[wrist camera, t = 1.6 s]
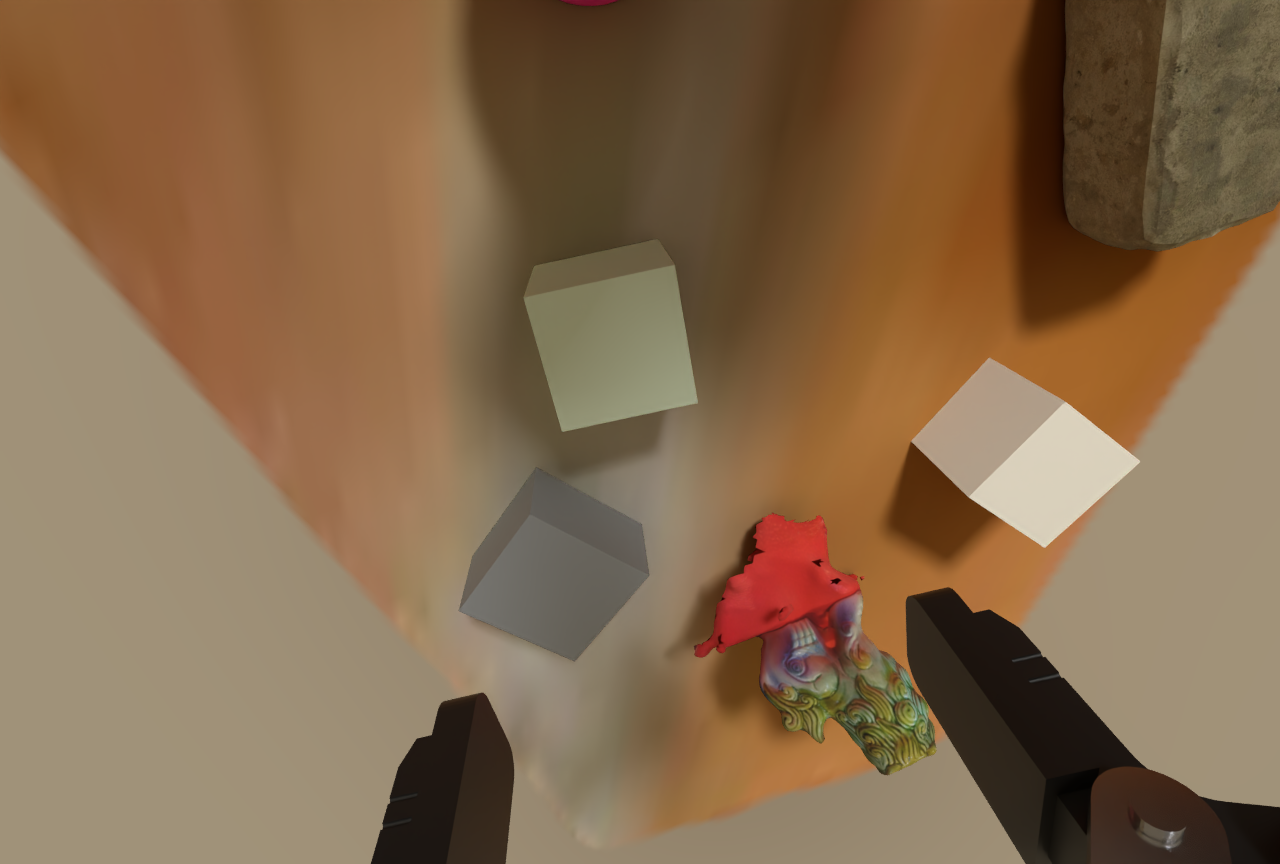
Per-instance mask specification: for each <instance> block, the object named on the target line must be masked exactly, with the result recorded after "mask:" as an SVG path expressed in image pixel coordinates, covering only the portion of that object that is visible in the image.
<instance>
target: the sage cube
mask: <svg viewBox="0 0 1280 864" xmlns="http://www.w3.org/2000/svg"><path fill="white" fill-rule="evenodd" d="M523 298H524V302H525V305H526V309H527V312H528V316H529V319H530V323H531V326H532V330H533V333H534V336H535V340H536V343H537V347H538V350H539V354H540V357H541V361H542V364H543V368H544V371H545V375H546V378H547V382H548V385H549V389H550V392H551V396H552V399H553V403H554V406H555V410H556V413H557V416H558V420H559V423H560V427H561V430H562V432H565V431H569V430H574V429H579V428H583V427H588V426H593V425H597V424H602V423H607V422H611V421H616V420H621V419H625V418H630V417H635V416H640V415H644V414H649V413H654V412H658V411H663V410H668V409H672V408H677V407H682V406H686V405H691V404H696V403H698V401H697V395H696V389H695V383H694V377H693V371H692V365H691V359H690V353H689V347H688V341H687V335H686V329H685V323H684V317H683V311H682V305H681V299H680V293H679V287H678V281H677V275H676V269H675V264H674V263H673V261H672V260H671V258H670V257H669V255H668V254H667V252H666V250H665V249H664V247H663V246H662V244H661V243H660V241H659V240H658V239H655V240H650V241H646V242H641V243H637V244H632V245H627V246H623V247H618V248H614V249H609V250H604V251H600V252H595V253H591V254H586V255H581V256H577V257H572V258H568V259H563V260H558V261H554V262H549V263H545V264H540V265H535V266H534V267H533V270H532V273H531V276H530V279H529V282H528V285H527V288H526V291H525V294H524V297H523Z"/></svg>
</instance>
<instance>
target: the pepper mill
mask: <svg viewBox="0 0 1280 864" xmlns="http://www.w3.org/2000/svg"><path fill="white" fill-rule="evenodd" d="M560 1H563V2H566V3H569V4H575V5H581V6H597V5H605V4H609V3H612V2H615V1H618V0H560Z"/></svg>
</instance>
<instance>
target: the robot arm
mask: <svg viewBox="0 0 1280 864" xmlns="http://www.w3.org/2000/svg"><path fill="white" fill-rule="evenodd" d="M906 632H907V657H908V662H909V666H910V669H911V672H912V675H913V678H914V680H915V682H916V684H917V686H918V688H919V690H920V692H921V693H922V695H923V697H924V698H925V700H926V701H927V703H928V705H929V706H930V708H931V710H932V711H933V713H934V715H935V716H936V718H937V719H938V721H939V723H940V724H941V726H942V728H943V729H944V731H945V733H946V734H947V736H948V737H949V739H950V741H951V742H952V744H953V746H954V747H955V749H956V751H957V752H958V754H959V755H960V757H961V759H962V760H963V762H964V764H965V765H966V767H967V768H968V770H969V772H970V773H971V775H972V777H973V778H974V780H975V782H976V783H977V785H978V787H979V788H980V790H981V791H982V793H983V795H984V796H985V798H986V800H987V801H988V803H989V805H990V806H991V808H992V809H993V811H994V813H995V814H996V816H997V818H998V819H999V821H1000V823H1001V824H1002V826H1003V827H1004V829H1005V831H1006V832H1007V834H1008V836H1009V837H1010V839H1011V841H1012V842H1013V844H1014V845H1015V847H1016V849H1017V850H1018V852H1019V853H1020V855H1021V857H1022V859H1023V860H1024V862H1025V863H1026V864H1280V807H1272V806H1262V805H1252V804H1242V803H1232V802H1224V801H1217V800H1212V799H1208V798H1204V797H1200V796H1198V795H1197V794H1196V793H1194V792H1193V791H1192V790H1190V789H1189V788H1188V787H1186V786H1185V785H1183V784H1181V783H1180V782H1178V781H1176V780H1174V779H1172V778H1170V777H1168V776H1166V775H1164V774H1161V773H1158V772H1155V771H1152V770H1148V769H1147V768H1146V767H1145V766H1143V765H1142V764H1141V763H1140V762H1139V761H1138V760H1137V759H1136V758H1135V757H1134V756H1133V755H1132V754H1131V753H1130V752H1129V751H1128V750H1127V748H1126V747H1125V746H1124V745H1123V744H1122V743H1121V742H1120V741H1119V739H1118V738H1117V737H1116V736H1115V735H1114V734H1113V733H1112V731H1111V730H1110V729H1109V728H1108V727H1107V726H1106V725H1105V724H1104V722H1103V721H1102V720H1101V719H1100V718H1099V717H1098V716H1097V715H1096V714H1095V712H1094V711H1093V710H1092V709H1091V708H1090V707H1089V706H1088V704H1087V703H1086V702H1085V701H1084V700H1083V699H1082V698H1081V697H1080V695H1079V694H1078V693H1077V692H1076V691H1075V690H1074V689H1073V688H1072V686H1071V685H1070V684H1069V683H1068V682H1067V681H1066V680H1065V679H1064V678H1061V677H1060V675H1059V672H1058V671H1057V670H1056V669H1055V668H1054V666H1053V665H1052V664H1051V663H1050V662H1049V661H1048V660H1047V658H1046V657H1043V656H1042V655H1041V652H1040V651H1039V649H1038V648H1037V647H1036V646H1035V645H1034V644H1033V643H1032V642H1031V641H1030V639H1029V638H1028V637H1027V636H1026V635H1025V634H1024V633H1023V631H1022V630H1021V629H1020V628H1019V627H1017V626H1016V625H1014V624H1012V623H1011V622H1009V621H1007V620H1006V619H1004V618H1002V617H1001V616H999V615H998V614H996V613H994V612H993V611H991V610H985V611H980V612H976V613H973V612H972V611H971V610H970V609H969V607H968V606H967V605H966V604H965V602H964V601H963V600H962V599H961V598H960V596H959V595H958V594H957V593H956V592H955V591H954V590H953V589H951V588H948V587H947V588H943V589H938V590H934V591H930V592H925V593H921V594H916V595H912V596H908V597H907V599H906ZM513 784H514V763H513V756H512V751H511V747H510V744H509V742H508V740H507V738H506V735H505V733H504V731H503V729H502V727H501V725H500V723H499V721H498V718H497V716H496V714H495V712H494V710H493V708H492V706H491V704H490V702H489V699H488V698H487V696H486V695H485V694H484V693H478V694H474V695H469V696H465V697H461V698H456V699H452V700H448V701H444V702H442V703H441V705H440V707H439V709H438V712H437V716H436V721H435V725H434V729H433V733H432V735H431V736H426V737H422V738H418V739H416V741H415V742H414V744H413V746H412V747H411V749H410V750H409V752H408V753H407V755H406V756H405V758H404V760H403V761H402V763H401V764H400V766H399V767H398V771H397V774H396V778H395V781H394V785H393V788H392V792H391V795H390V804H388V806H387V809H386V813H385V816H384V820H383V823H382V824H383V829H382V830H380V834H379V837H378V841H377V844H376V848H375V851H374V855H373V858H372V862H371V864H505V863H506V853H507V843H508V833H509V823H510V813H511V804H512V793H513Z"/></svg>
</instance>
